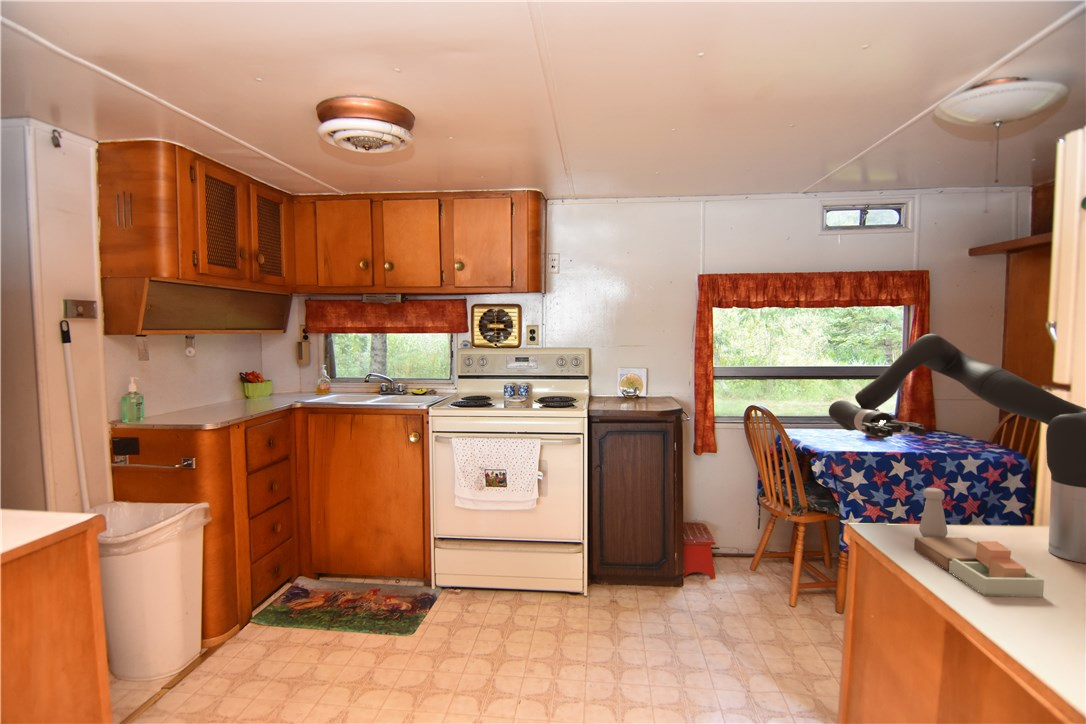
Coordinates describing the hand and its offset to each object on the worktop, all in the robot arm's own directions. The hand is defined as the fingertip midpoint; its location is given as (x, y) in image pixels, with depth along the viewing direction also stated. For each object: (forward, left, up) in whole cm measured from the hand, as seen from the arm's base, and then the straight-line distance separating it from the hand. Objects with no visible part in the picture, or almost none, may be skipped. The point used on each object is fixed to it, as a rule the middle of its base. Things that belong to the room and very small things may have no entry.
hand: (907, 432), depth 145 cm
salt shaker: (-1, +10, -26) cm, 28 cm away
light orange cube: (0, +30, -22) cm, 38 cm away
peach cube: (0, +32, -22) cm, 39 cm away
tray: (+2, +34, -25) cm, 43 cm away
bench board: (+2, +22, -25) cm, 34 cm away
